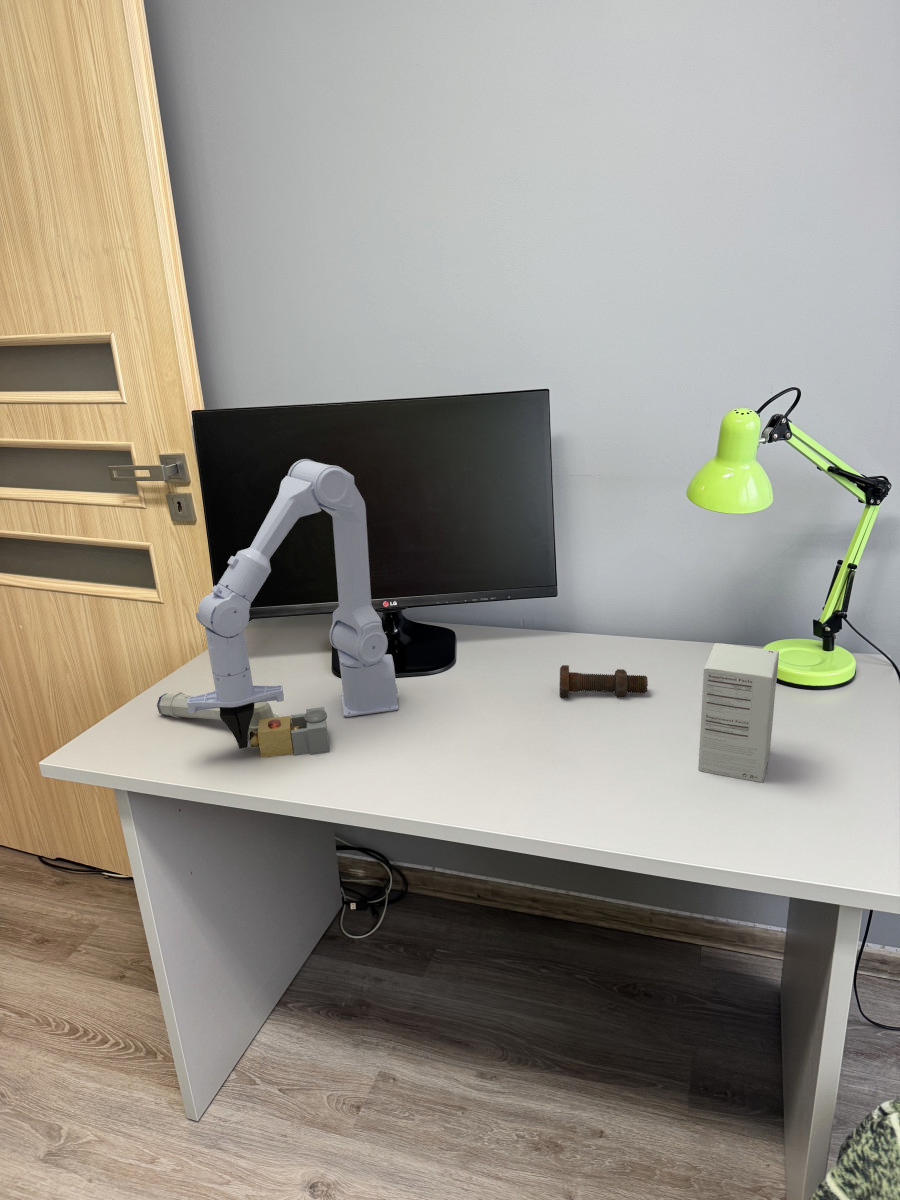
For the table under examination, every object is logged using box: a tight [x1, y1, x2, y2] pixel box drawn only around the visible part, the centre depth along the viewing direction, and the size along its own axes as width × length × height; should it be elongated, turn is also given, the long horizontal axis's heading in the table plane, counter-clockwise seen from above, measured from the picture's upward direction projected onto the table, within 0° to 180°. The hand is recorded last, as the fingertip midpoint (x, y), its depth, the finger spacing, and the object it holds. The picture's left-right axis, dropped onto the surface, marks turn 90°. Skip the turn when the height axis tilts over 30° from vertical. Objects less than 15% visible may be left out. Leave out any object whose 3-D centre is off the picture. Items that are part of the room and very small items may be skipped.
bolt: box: [559, 664, 649, 699], centre depth 145 cm, size 6×5×15 cm
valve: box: [249, 715, 301, 758], centre depth 133 cm, size 8×4×5 cm, turn 98°
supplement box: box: [697, 642, 780, 783], centre depth 120 cm, size 10×9×17 cm
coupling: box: [290, 706, 330, 756], centre depth 134 cm, size 6×7×5 cm
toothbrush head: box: [156, 691, 280, 739], centre depth 142 cm, size 5×7×25 cm
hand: (243, 745), depth 133 cm, fingers closed
